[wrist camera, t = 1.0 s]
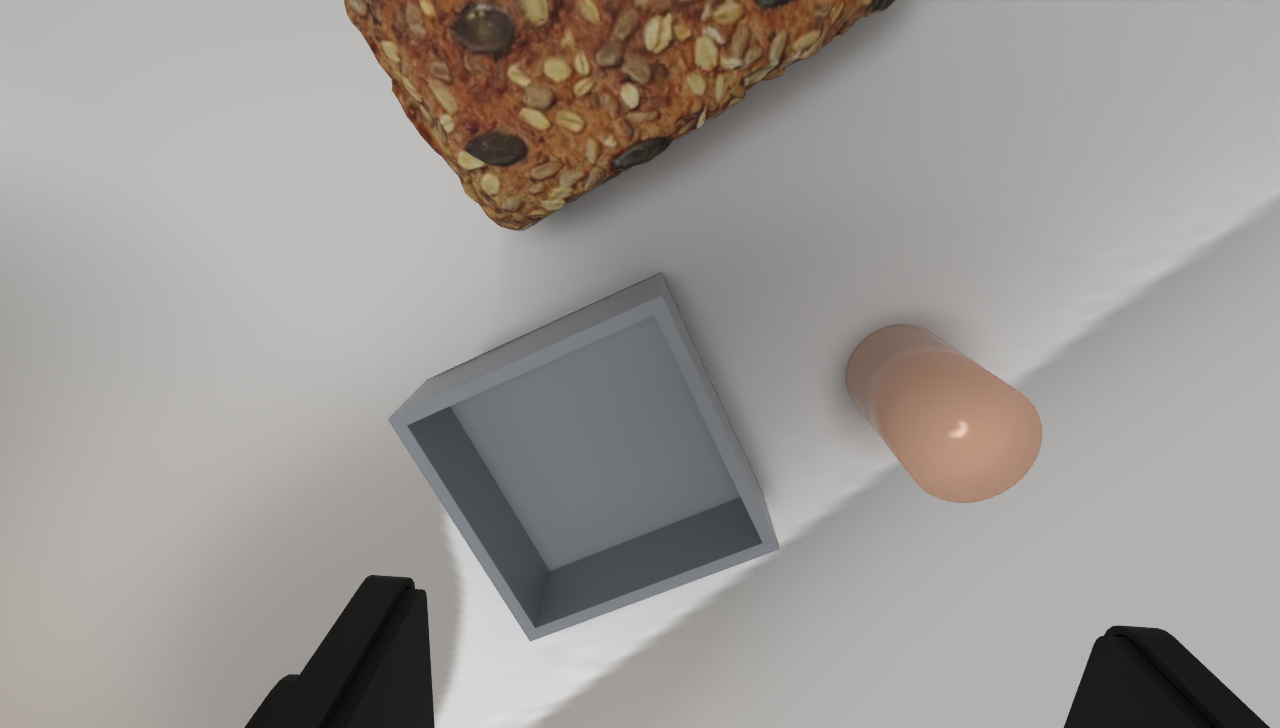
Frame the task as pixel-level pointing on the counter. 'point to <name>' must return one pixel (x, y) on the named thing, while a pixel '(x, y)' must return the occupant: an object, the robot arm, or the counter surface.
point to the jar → (943, 414)
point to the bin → (589, 462)
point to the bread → (579, 81)
